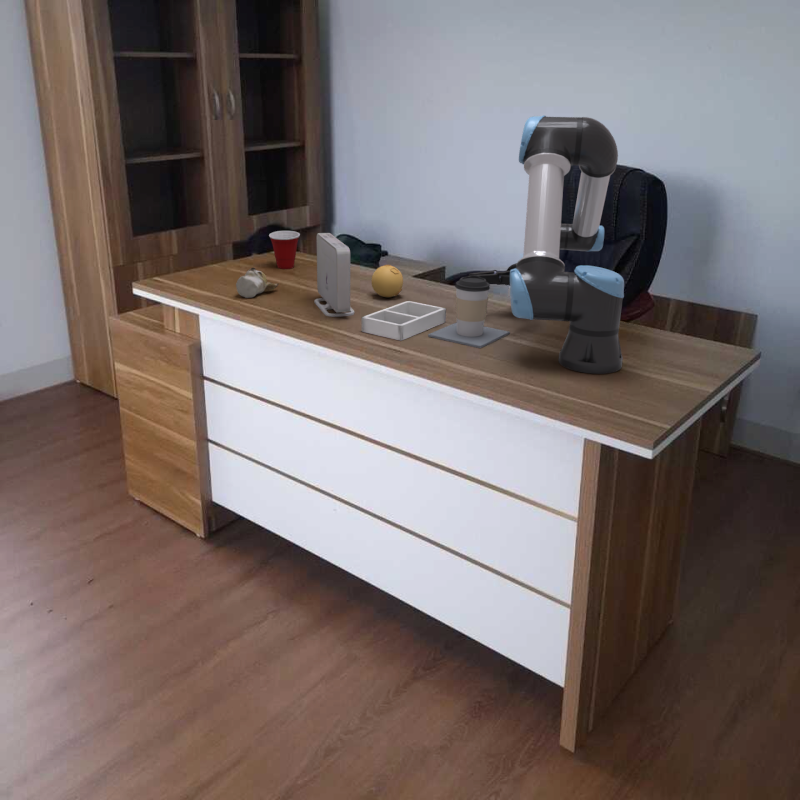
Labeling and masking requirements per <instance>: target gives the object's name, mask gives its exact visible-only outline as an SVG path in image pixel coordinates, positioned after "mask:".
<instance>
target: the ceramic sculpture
mask: <svg viewBox="0 0 800 800" xmlns="http://www.w3.org/2000/svg"><path fill="white" fill-rule="evenodd" d="M278 286H279V283H273V282H270V281H268V279H267V276H266V274H265V273H264V272H263V271H261V270H257V269H256V268H255V267H251V268H249V269H248V270H247V271H246V273H245V274H244V275H242V276H240V277H239V278H238V279H237V281H236V283H235V287H236V292H237V293H238V295H240V297H242V298H245V299H249V298H254V297H255V296H256V295H260V294H262V293H263V292H271V291H274V290H275V289H276V288H278Z"/></svg>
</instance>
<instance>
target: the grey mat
mask: <svg viewBox="0 0 800 800" xmlns="http://www.w3.org/2000/svg"><path fill="white" fill-rule="evenodd" d="M510 334H511V332H510V331H509V330H503V329H498V328H494V327H490V326H489V327H488V326H484V327H483V334H482V335H480V336H476V337H468V336H462V335H459V334H458V333H457V321H456V322H454V323H452V324H449V325H447V326H444V327H442V328H440V329H437V330H434V331H432V332H431V333H428V334H427V337H429V338H433V339H438V340H442V341H446V342H449V343H450V342H451V343H455V344H460V345H464V346H468V347H473V348H478V349H481V348H483V347H486V346H488V345H490V344H492V343H494V342H496V341H499V340H501V339H502V338H504V337H506V336H508V335H510Z"/></svg>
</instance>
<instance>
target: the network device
mask: <svg viewBox="0 0 800 800" xmlns="http://www.w3.org/2000/svg"><path fill="white" fill-rule="evenodd" d="M316 274H317V275H316V279H317V280H316V282H317V283H316V286H317V287H316V288H317V293H318V294H319V295H320V296H321V298H316V299H314V304H315V305H316V307H317V308H318V309H319V310H320V311H321V312H322V314H323V315H324V316H327V317H330V318H331V317H333V318H337V317H351V316H354V315H355V310H354V309H353V308H352V307H351V250H350V248H349V246H348V245H346V244H344V243H343V242H342V241H341V240H339V239H338V238H337V237H336V236H334V235H333V234H332V233H330V232H319V233H317V234H316ZM320 302H326V304H321V303H320ZM327 310H333V311H334V312H336V313H329V312H328V311H327Z"/></svg>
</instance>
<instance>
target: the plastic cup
mask: <svg viewBox="0 0 800 800" xmlns="http://www.w3.org/2000/svg"><path fill="white" fill-rule="evenodd" d="M300 235H301V233H300V232H297V231H293V230H277V231H273V232H271V233H269V235H268V236H269V238H270V241H271V245H272V248H273V253H274V259H275V262H276V266H277V268H278V269H282V270H290V269H293V268H294V267H295V261H296V255H297V247H298V241H299V238H300Z"/></svg>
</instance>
